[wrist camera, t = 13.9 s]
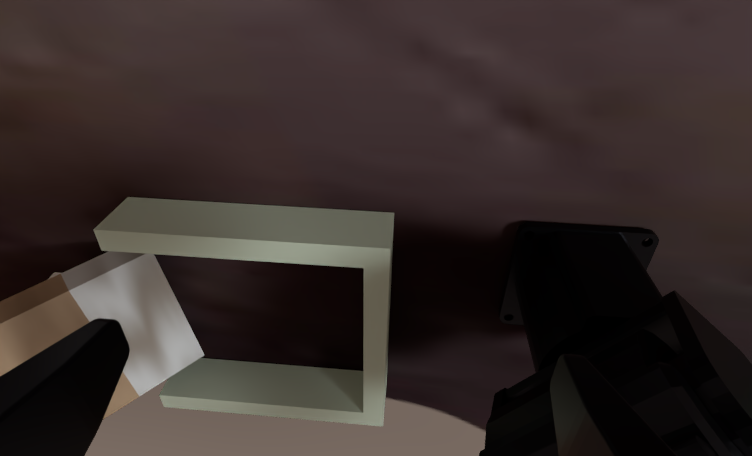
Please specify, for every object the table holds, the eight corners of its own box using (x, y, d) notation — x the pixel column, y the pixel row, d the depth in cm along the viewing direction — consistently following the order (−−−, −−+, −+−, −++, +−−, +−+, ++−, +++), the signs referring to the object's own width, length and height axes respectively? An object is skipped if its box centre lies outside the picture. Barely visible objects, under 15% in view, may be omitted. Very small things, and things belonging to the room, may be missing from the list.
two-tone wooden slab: (140, 236, 25) (-102, 348, 20) (151, 250, 24) (-105, 374, 19) (192, 338, 29) (4, 452, 24) (204, 355, 28) (9, 479, 23)
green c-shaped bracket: (127, 197, 24) (93, 229, 21) (394, 212, 23) (390, 248, 20) (184, 368, 31) (163, 407, 29) (386, 384, 30) (383, 426, 28)
